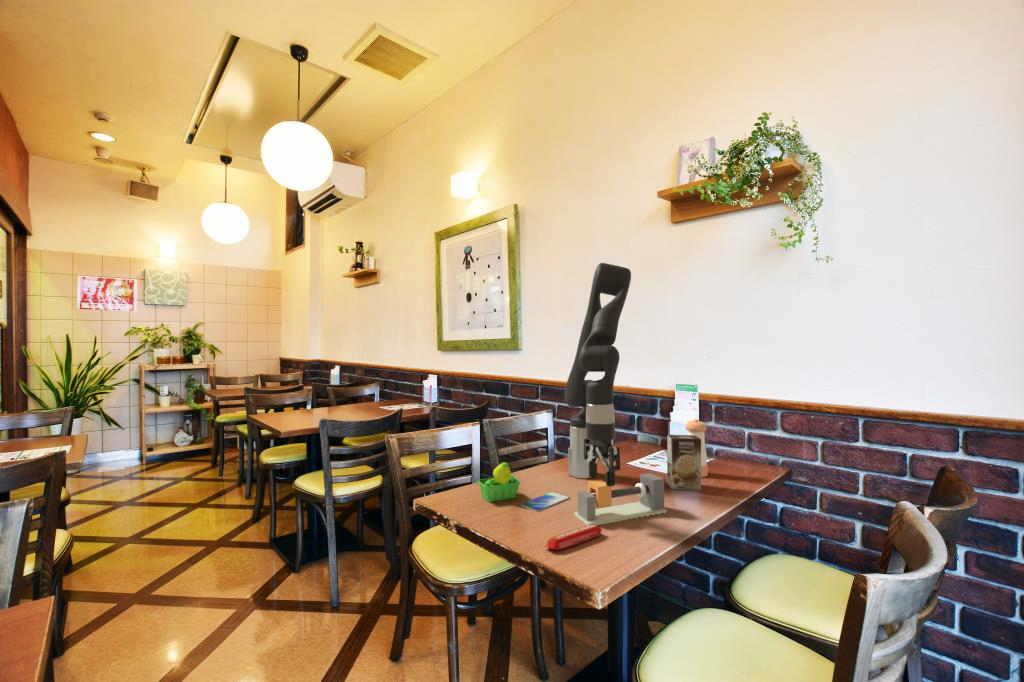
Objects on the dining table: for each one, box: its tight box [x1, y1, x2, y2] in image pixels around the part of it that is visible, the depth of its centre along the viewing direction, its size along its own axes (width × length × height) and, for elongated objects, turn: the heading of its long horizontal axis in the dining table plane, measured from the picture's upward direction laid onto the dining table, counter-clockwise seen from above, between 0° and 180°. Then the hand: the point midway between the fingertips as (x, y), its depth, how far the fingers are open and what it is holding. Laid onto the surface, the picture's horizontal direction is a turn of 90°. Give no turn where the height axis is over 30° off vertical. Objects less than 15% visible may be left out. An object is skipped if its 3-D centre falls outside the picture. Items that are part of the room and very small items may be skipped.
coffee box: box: [666, 434, 702, 491], centre depth 146 cm, size 9×6×16 cm
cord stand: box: [573, 472, 668, 526], centre depth 124 cm, size 24×8×9 cm, turn 110°
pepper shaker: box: [685, 418, 709, 478], centre depth 159 cm, size 7×7×19 cm
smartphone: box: [520, 491, 571, 513], centre depth 134 cm, size 7×1×15 cm
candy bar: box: [544, 525, 603, 551], centre depth 107 cm, size 16×4×3 cm, turn 125°
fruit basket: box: [477, 462, 521, 503], centre depth 138 cm, size 11×9×11 cm
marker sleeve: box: [587, 479, 613, 509], centre depth 121 cm, size 4×5×6 cm
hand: (601, 481), depth 121 cm, fingers open, 8 cm apart
